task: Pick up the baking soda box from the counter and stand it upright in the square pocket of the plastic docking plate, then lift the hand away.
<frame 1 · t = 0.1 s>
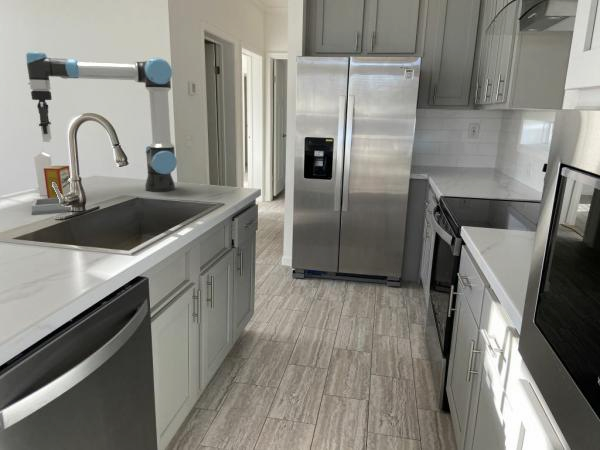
hand: (47, 140, 198), 28 cm above the worktop, tool pointing down, fingers open, 13 cm apart
long grey-white prism: (47, 194, 220), on the worktop
dock: (53, 209, 191), on the worktop
baking soda box: (60, 200, 208), on the worktop
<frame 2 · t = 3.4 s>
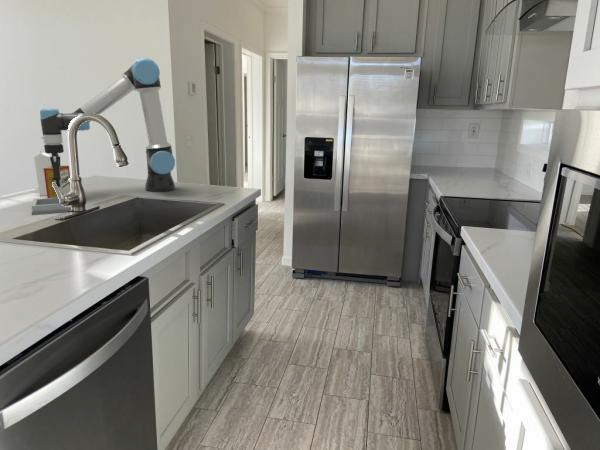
hand: (59, 191, 207), 4 cm above the worktop, tool pointing down, fingers closed on baking soda box, 11 cm apart
baking soda box: (60, 200, 208), on the worktop, touching gripper
everything else where it was.
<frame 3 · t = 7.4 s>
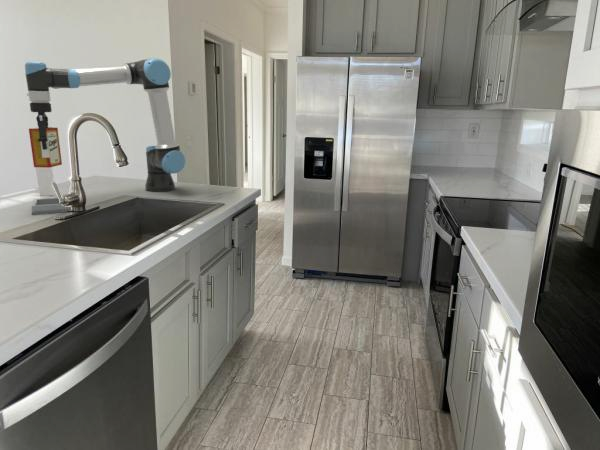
hand: (47, 155, 188), 22 cm above the worktop, tool pointing down, fingers closed on baking soda box, 11 cm apart
baking soda box: (48, 166, 189), point 18 cm above the worktop, touching gripper
everything else where it was.
when the fingers open (6 cm above the worktop, at t = 11.8 s): baking soda box stays where it is, resting on dock.
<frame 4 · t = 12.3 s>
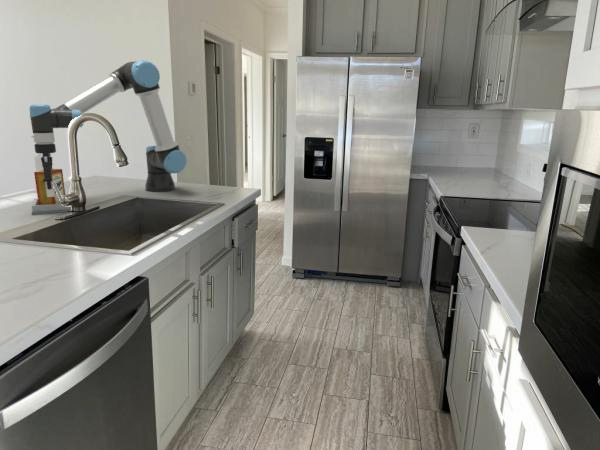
hand: (51, 193, 190), 7 cm above the worktop, tool pointing down, fingers open, 13 cm apart
baking soda box: (53, 207, 191), point 1 cm above the worktop, touching dock
everything else where it was.
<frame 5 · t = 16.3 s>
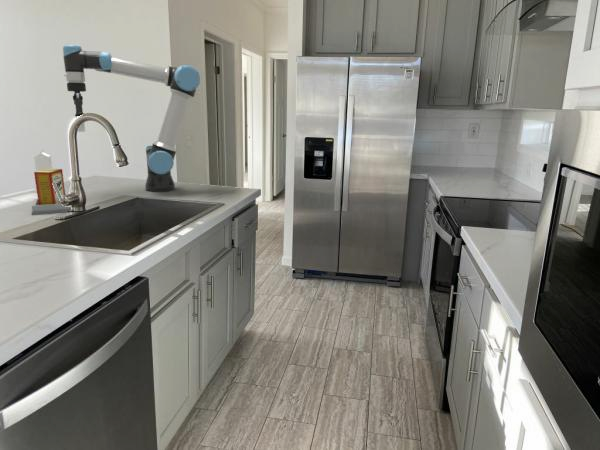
hand: (81, 130, 206), 32 cm above the worktop, tool pointing down, fingers open, 13 cm apart
nothing on the worktop moved.
at the end: baking soda box 0.0 cm off-centre on the dock, point 0.8 cm above the dock's base; baking soda box tilted 0°; the gripper is holding nothing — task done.
